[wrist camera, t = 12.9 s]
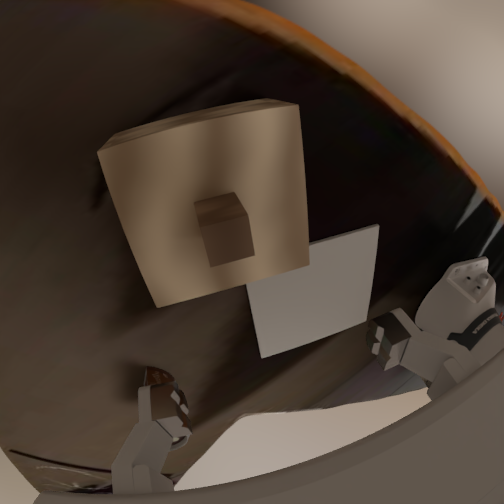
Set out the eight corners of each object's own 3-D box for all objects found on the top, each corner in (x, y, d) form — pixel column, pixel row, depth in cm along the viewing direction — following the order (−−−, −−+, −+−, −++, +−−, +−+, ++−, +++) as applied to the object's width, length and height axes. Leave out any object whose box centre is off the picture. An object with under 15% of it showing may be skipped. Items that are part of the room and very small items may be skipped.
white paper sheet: (377, 223, 36) (379, 225, 36) (364, 318, 46) (366, 320, 46) (241, 261, 34) (242, 264, 33) (260, 355, 44) (261, 358, 44)
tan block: (266, 98, 25) (325, 111, 16) (282, 227, 33) (329, 292, 24) (114, 133, 23) (81, 168, 14) (156, 261, 31) (158, 342, 22)
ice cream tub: (176, 404, 46) (185, 454, 38) (141, 402, 44) (146, 454, 36) (189, 363, 41) (200, 422, 33) (147, 359, 38) (151, 421, 30)
